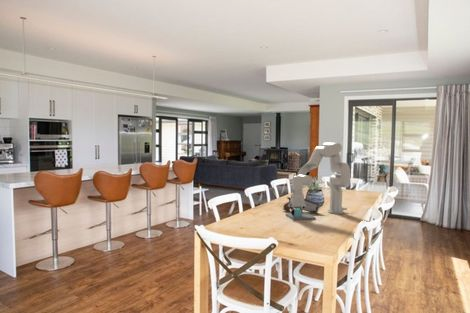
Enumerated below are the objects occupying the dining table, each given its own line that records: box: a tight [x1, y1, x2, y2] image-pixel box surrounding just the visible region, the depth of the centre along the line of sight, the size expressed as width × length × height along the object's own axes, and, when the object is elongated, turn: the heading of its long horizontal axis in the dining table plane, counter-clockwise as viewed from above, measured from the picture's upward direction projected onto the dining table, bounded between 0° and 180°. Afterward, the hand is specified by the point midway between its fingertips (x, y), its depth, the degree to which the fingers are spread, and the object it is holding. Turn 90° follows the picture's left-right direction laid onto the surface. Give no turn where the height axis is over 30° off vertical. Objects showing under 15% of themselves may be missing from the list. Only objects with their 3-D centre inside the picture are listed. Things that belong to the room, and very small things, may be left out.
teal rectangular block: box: [293, 208, 303, 217], centre depth 255 cm, size 6×6×5 cm
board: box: [285, 212, 317, 221], centre depth 255 cm, size 18×16×6 cm
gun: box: [282, 196, 320, 214], centre depth 273 cm, size 5×27×15 cm, turn 79°
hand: (296, 214), depth 255 cm, fingers open, 5 cm apart
